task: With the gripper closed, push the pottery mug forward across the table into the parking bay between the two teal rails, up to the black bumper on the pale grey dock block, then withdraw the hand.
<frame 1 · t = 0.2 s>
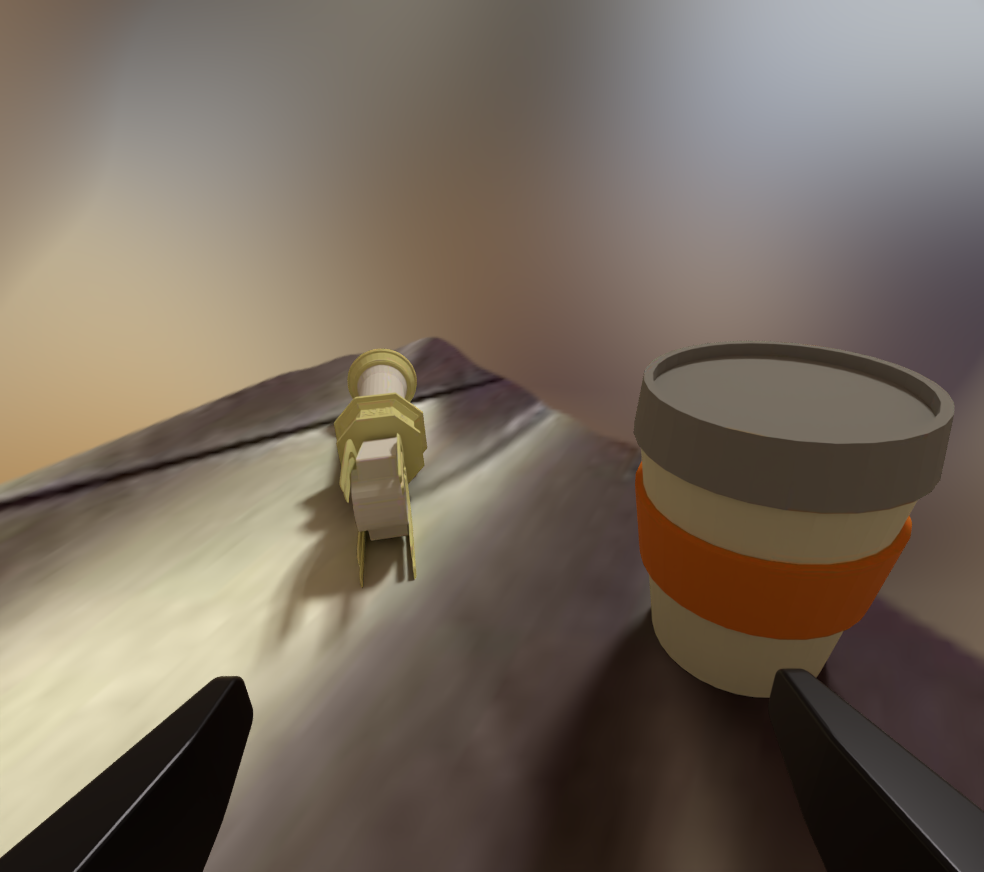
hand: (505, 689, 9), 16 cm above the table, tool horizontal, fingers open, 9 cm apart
trophy: (388, 476, 49), on the table
reusable coffee cup: (732, 631, 31), on the table
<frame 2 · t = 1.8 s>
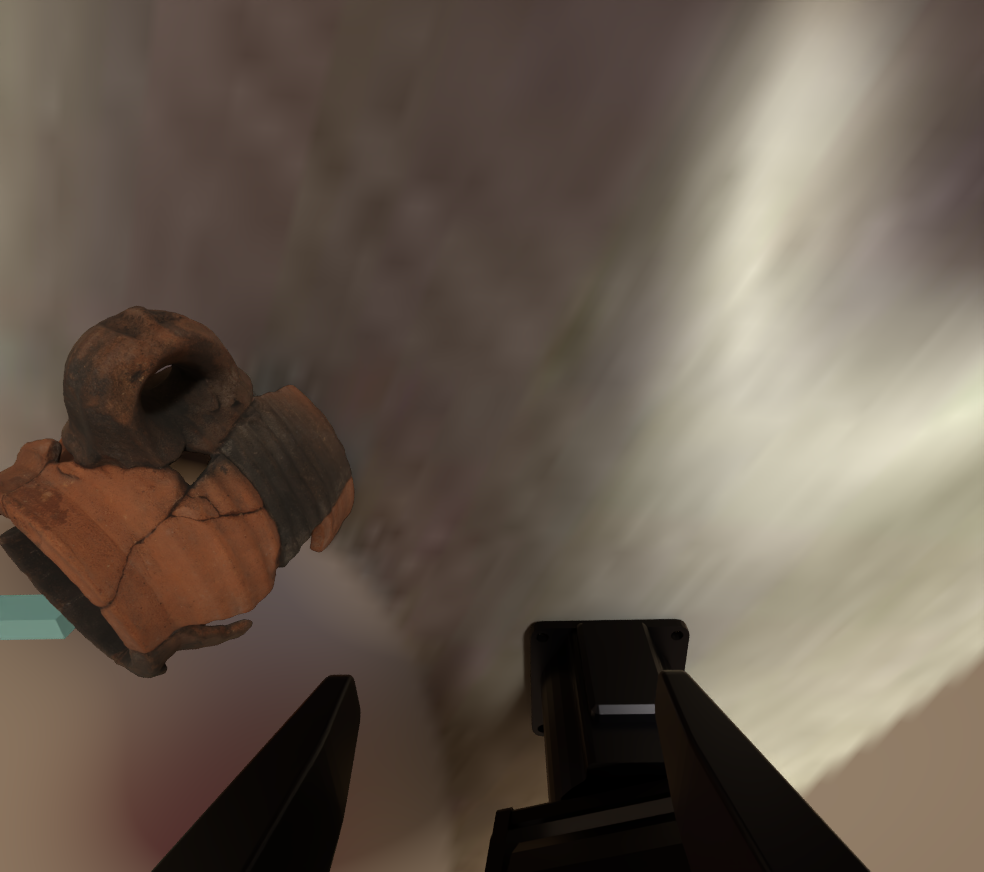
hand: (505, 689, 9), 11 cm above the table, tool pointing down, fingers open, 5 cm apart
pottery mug: (226, 443, 20), on the table
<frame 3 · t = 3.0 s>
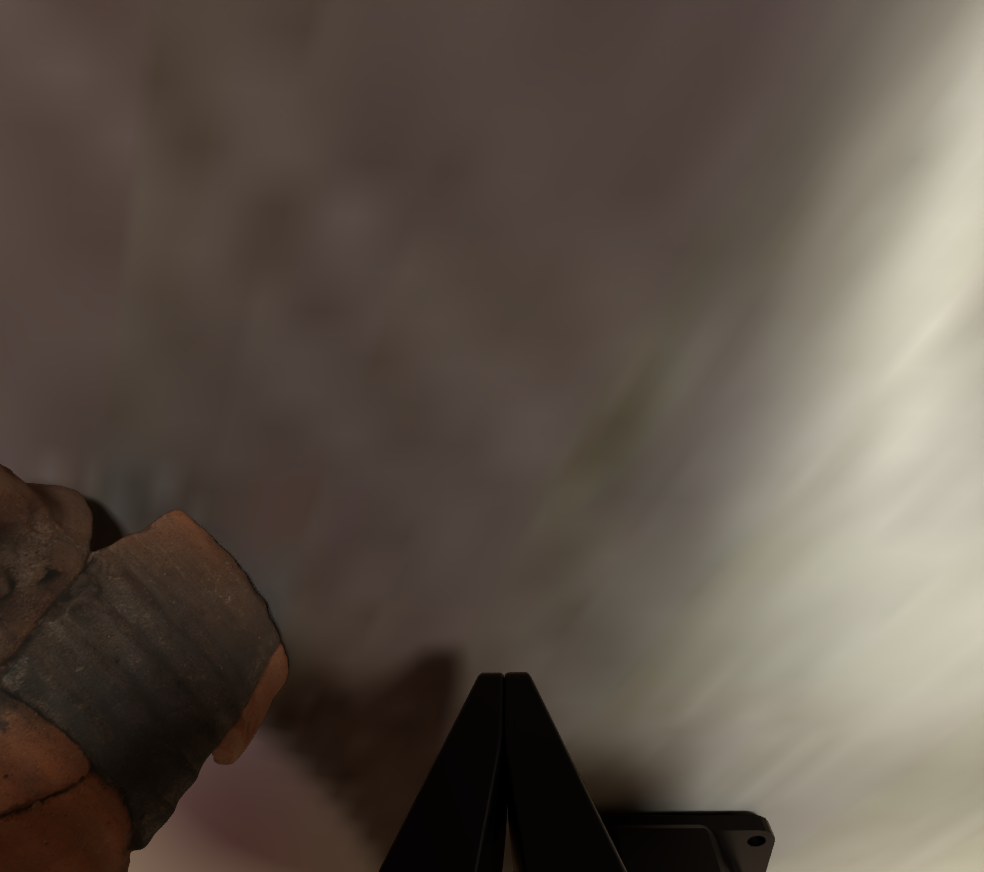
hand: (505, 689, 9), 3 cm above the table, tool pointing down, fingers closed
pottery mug: (90, 586, 13), on the table
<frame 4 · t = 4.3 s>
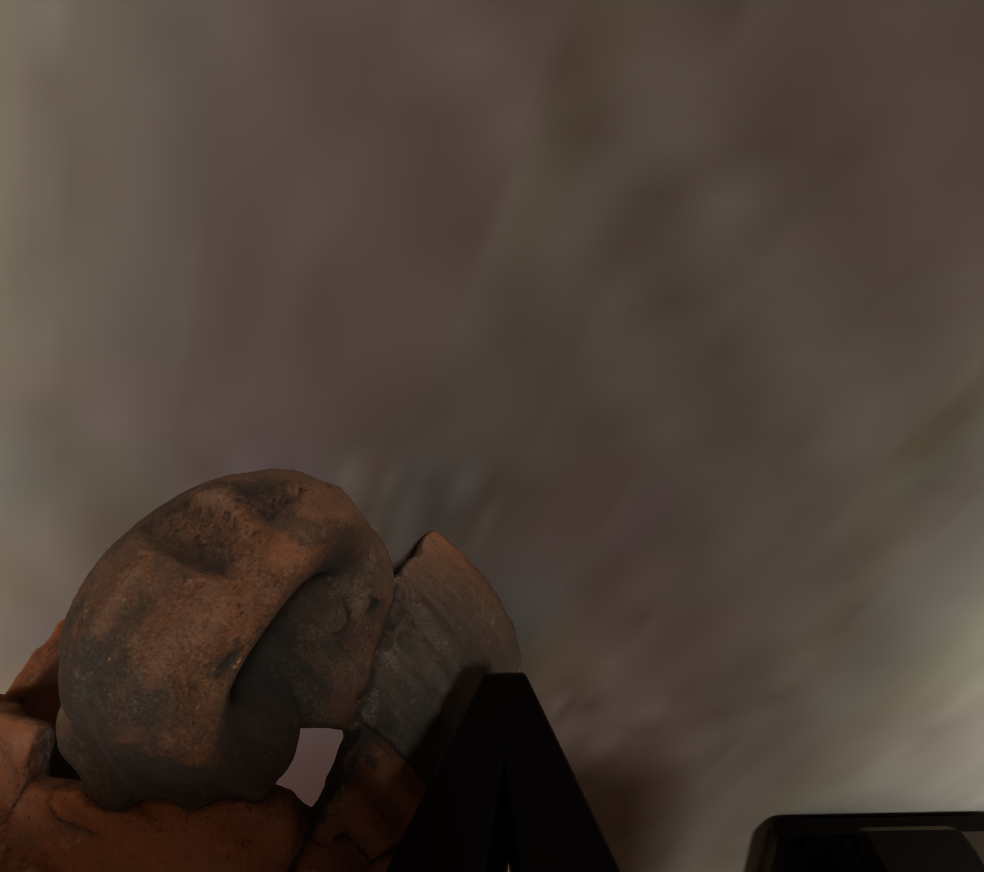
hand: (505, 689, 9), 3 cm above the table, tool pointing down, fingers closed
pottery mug: (316, 607, 13), on the table, touching gripper
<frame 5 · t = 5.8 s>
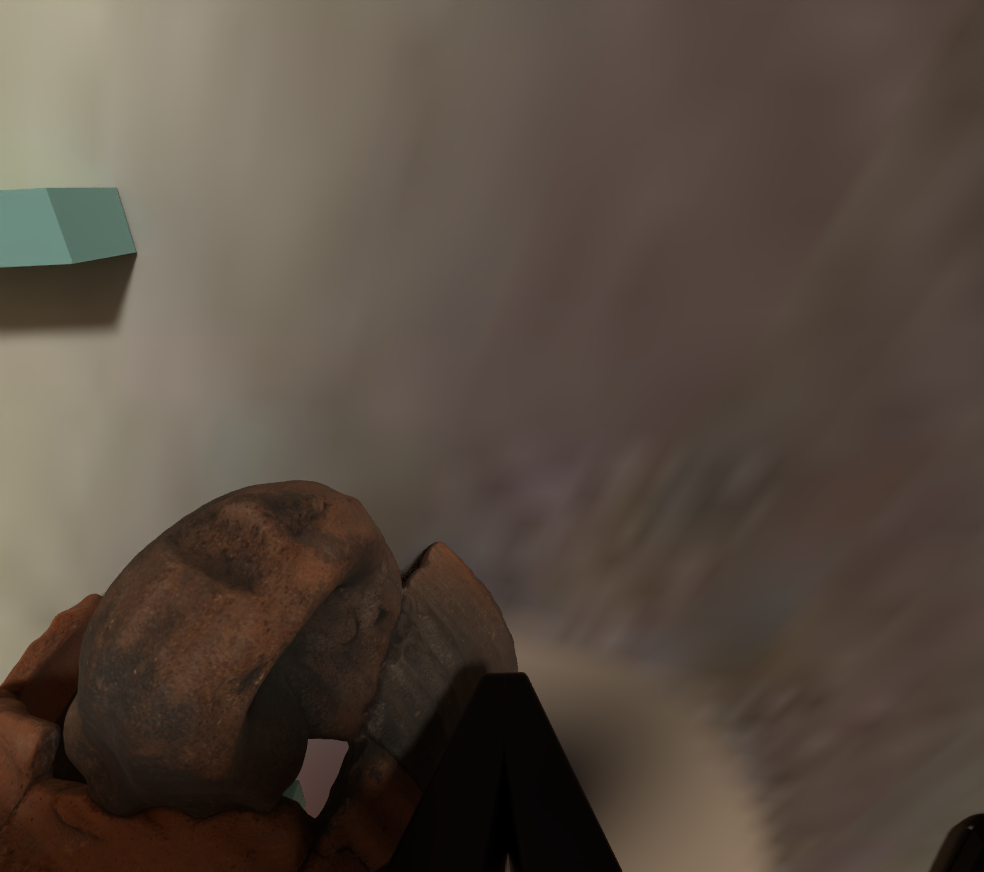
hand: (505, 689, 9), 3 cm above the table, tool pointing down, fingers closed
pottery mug: (315, 610, 13), on the table, touching gripper
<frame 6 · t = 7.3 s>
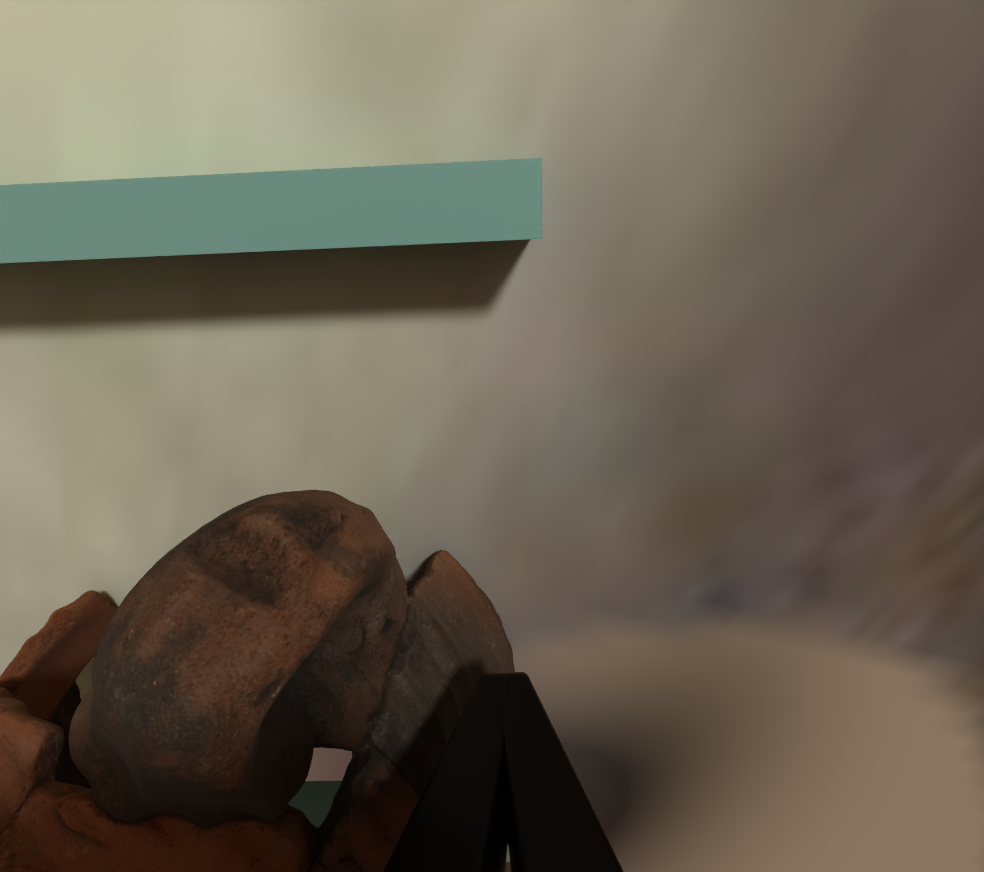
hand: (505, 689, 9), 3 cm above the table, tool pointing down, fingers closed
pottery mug: (314, 613, 13), on the table, touching gripper
parking bay: (179, 581, 12), on the table
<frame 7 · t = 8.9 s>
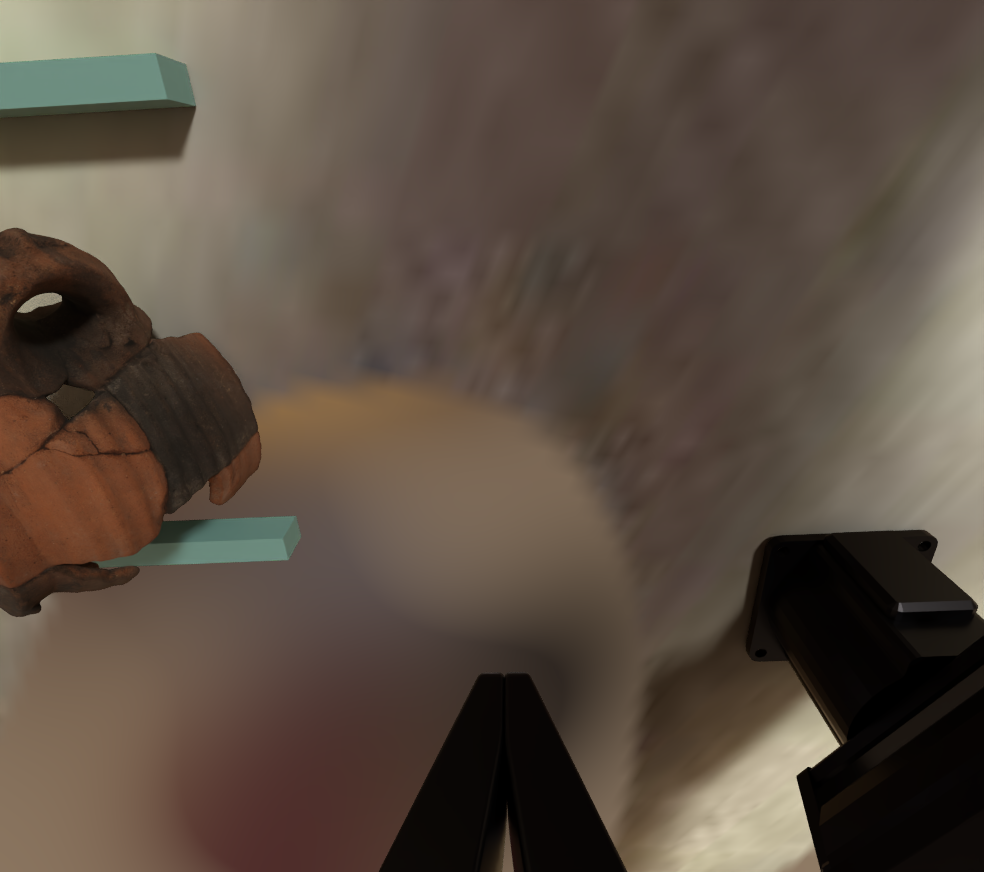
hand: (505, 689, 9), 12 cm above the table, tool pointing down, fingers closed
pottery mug: (130, 388, 20), on the table
parking bay: (25, 355, 19), on the table
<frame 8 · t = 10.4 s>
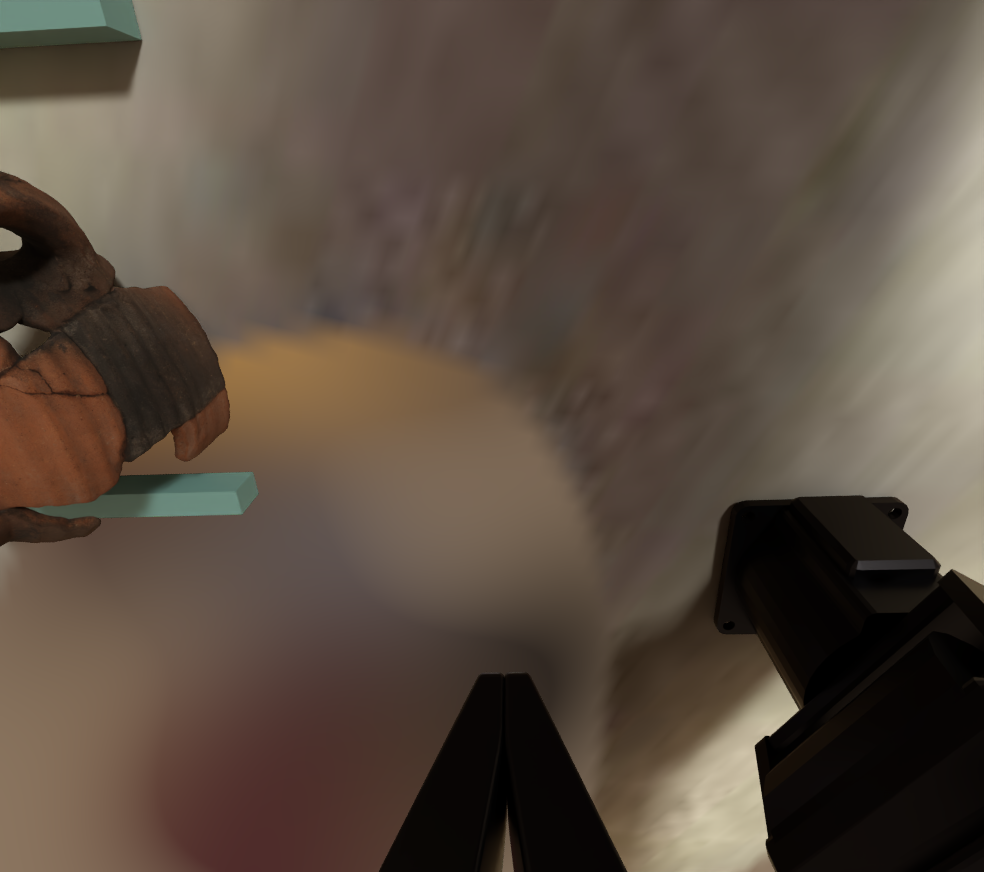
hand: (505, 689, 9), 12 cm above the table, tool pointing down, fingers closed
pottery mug: (100, 345, 20), on the table
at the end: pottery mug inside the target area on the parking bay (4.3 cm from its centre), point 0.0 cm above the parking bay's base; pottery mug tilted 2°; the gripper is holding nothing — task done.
